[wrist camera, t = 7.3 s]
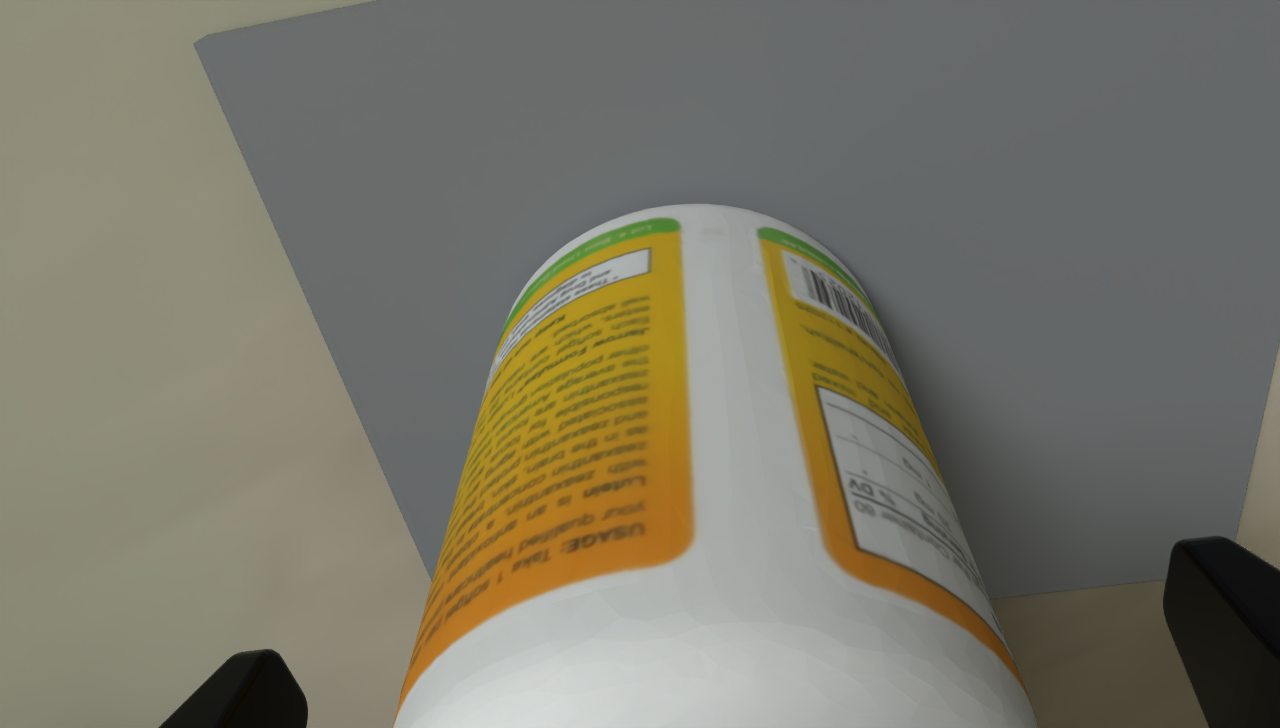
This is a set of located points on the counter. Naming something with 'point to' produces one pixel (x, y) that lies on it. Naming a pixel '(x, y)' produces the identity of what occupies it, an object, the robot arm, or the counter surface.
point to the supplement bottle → (703, 506)
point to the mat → (818, 222)
